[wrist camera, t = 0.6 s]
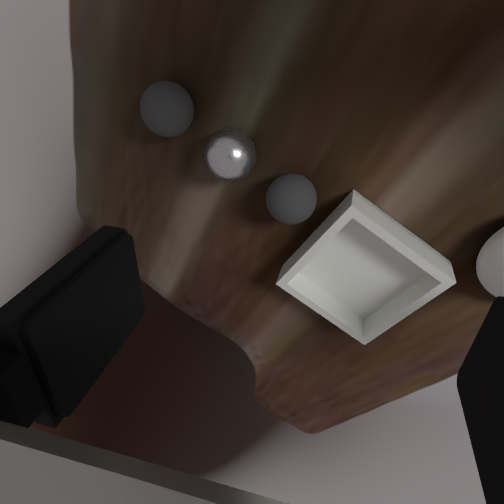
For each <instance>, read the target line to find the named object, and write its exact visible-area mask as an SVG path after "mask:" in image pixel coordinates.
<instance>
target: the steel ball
mask: <svg viewBox="0 0 504 504" xmlns="http://www.w3.org/2000/svg"><path fill="white" fill-rule="evenodd" d="M205 161H206V164H207V167H208V169H209V170H210V172H211V173H212V174H213V175H214V176H216V177H217V178H219V179H221V180H223V181H228V182H234V181H238V180H241V179H243V178H245V177H246V176H247V175H248V174H249V173H250V172H251V171H252V169H253V168H254V165H255V162H256V148H255V145H254V143H253V141H252V139H251V138H250V137H249V136H248V135H247V134H246V133H244V132H243V131H241V130H238V129H234V128H226V129H222V130H220V131H218V132H216V133H215V134H214V135H212V137H211V138H210V139H209V141H208V142H207V145H206V148H205Z"/></svg>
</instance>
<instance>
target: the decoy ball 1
mask: <svg viewBox="0 0 504 504" xmlns="http://www.w3.org/2000/svg"><path fill="white" fill-rule="evenodd" d="M140 113H141V116H142V119H143V121H144V123H145V124H146V126H147V127H148V128H149V129H150V130H151V131H152V132H154V133H155V134H157V135H160V136H163V137H175V136H178V135H181V134H182V133H184V132H185V131H186V130H187V129H188V128H189V127H190V125H191V123H192V121H193V117H194V105H193V102H192V99H191V97H190V95H189V94H188V92H187V91H186V90H185V89H184V88H183V87H182V86H180V85H179V84H177V83H175V82H172V81H158V82H155V83H153V84H151V85H150V86H149V87H148V88H147V89H146V90H145V91H144V93H143V95H142V97H141V101H140Z"/></svg>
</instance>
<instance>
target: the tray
mask: <svg viewBox="0 0 504 504" xmlns="http://www.w3.org/2000/svg"><path fill="white" fill-rule="evenodd" d="M455 283H456V279H455V276H454V272H453V268H452V264H451V261H450V260H448V259H447V258H446V257H444V256H443V255H441V254H440V253H439V252H437V251H436V250H435V249H433V248H432V247H431V246H429V245H428V244H427V243H425V242H424V241H423V240H421V239H420V238H419V237H417V236H416V235H415V234H413V233H412V232H411V231H409V230H408V229H406V228H405V227H404V226H402V225H401V224H400V223H398V222H397V221H396V220H394V219H393V218H392V217H390V216H389V215H388V214H386V213H385V212H384V211H382V210H381V209H380V208H378V207H377V206H376V205H374V204H373V203H371V202H370V201H369V200H367V199H366V198H365V197H363V196H362V195H361V194H359V193H358V192H357V191H355V190H354V189H353V190H352V191H351V193H350V194H349V195H348V196H347V197H346V198H345V199H344V200H343V201H342V202H341V203H340V204H339V205H338V206H337V208H336V209H335V210H334V211H333V212H332V213H331V214H330V215H329V216H328V217H327V218H326V219H325V220H324V221H323V223H322V224H321V225H320V226H319V227H318V228H317V229H316V230H315V231H314V232H313V233H312V234H311V235H310V236H309V238H308V239H307V240H306V241H305V242H304V243H303V244H302V245H301V246H300V247H299V248H298V249H297V250H296V251H295V253H294V254H293V255H292V256H291V257H290V258H289V259H288V260H287V261H286V262H285V263H284V264H283V265H282V268H281V271H280V274H279V276H278V279H277V282H276V285H278V286H279V287H281V288H282V289H284V290H285V291H287V292H288V293H289V294H291V295H292V296H294V297H295V298H297V299H298V300H300V301H301V302H302V303H304V304H305V305H307V306H308V307H310V308H311V309H313V310H314V311H316V312H317V313H318V314H320V315H321V316H323V317H324V318H326V319H327V320H329V321H330V322H332V323H333V324H334V325H336V326H337V327H339V328H340V329H342V330H343V331H345V332H346V333H348V334H349V335H350V336H352V337H353V338H355V339H356V340H358V341H359V342H361V343H362V344H363V345H366V344H367V343H368V342H370V341H371V340H373V339H374V338H376V337H377V336H379V335H380V334H382V333H383V332H385V331H386V330H388V329H389V328H391V327H392V326H394V325H395V324H396V323H398V322H399V321H401V320H402V319H404V318H405V317H407V316H408V315H410V314H411V313H413V312H414V311H416V310H417V309H419V308H420V307H422V306H423V305H425V304H426V303H427V302H429V301H430V300H432V299H433V298H435V297H436V296H438V295H439V294H441V293H442V292H444V291H445V290H447V289H448V288H450V287H451V286H453V285H454V284H455Z"/></svg>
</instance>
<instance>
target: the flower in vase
mask: <svg viewBox="0 0 504 504" xmlns="http://www.w3.org/2000/svg"><path fill="white" fill-rule="evenodd" d="M476 272H477V276H478V279H479V281H480V283H481V284H482V285H483V287H484V288H485V289H486V290H487V291H488V292H489V293H491V294H492V295H493V296H495V297H496V298H497V297H498V296H503V297H504V227H503V228H501V229H500V230H498V231H497V232H496V233H494V234H493V235H492V236H491V237H490V238H489V239H488V240H487V241H486V243H485V244H484V245H483V247H482V248H481V250H480V252H479V255H478V257H477V262H476Z"/></svg>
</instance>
